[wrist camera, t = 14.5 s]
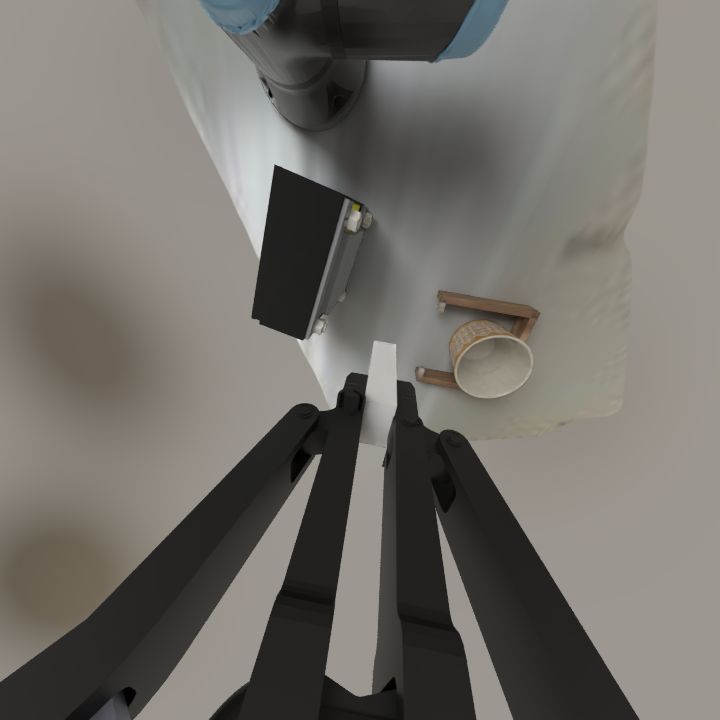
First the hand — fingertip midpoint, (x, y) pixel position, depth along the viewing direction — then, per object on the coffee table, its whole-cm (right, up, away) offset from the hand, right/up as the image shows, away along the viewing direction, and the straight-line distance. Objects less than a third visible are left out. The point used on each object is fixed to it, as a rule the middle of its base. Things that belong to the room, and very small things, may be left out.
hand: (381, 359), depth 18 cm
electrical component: (-7, +20, +29) cm, 36 cm away
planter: (+23, +4, +35) cm, 42 cm away
